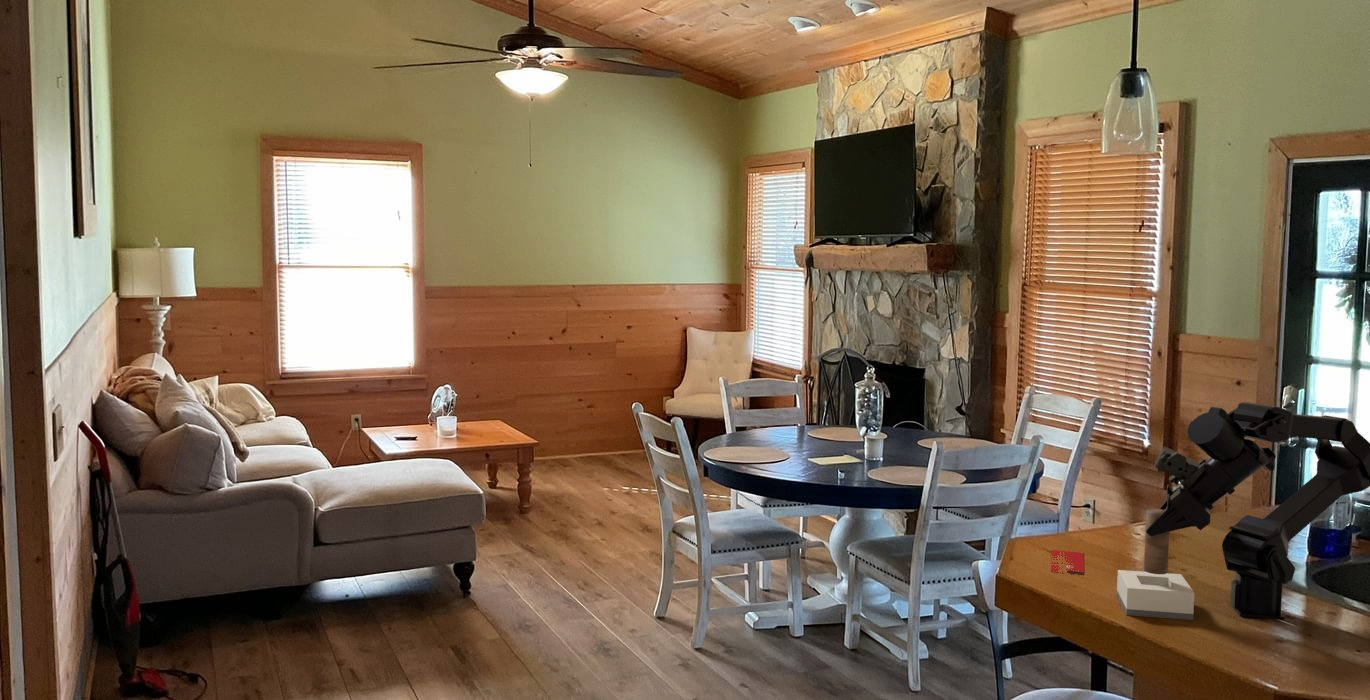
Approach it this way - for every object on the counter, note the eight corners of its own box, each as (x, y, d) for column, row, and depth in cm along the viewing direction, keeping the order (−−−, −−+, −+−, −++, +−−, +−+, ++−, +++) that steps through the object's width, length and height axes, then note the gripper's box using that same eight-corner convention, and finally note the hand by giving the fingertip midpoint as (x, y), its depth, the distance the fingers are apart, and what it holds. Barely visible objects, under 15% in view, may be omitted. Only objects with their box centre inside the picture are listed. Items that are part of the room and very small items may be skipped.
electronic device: (1051, 552, 211) (1050, 574, 197) (1052, 549, 211) (1050, 571, 197) (1083, 555, 209) (1084, 577, 195) (1083, 552, 209) (1084, 574, 195)
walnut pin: (1165, 568, 178) (1167, 509, 177) (1169, 574, 175) (1172, 514, 174) (1142, 567, 179) (1144, 508, 178) (1146, 573, 175) (1148, 513, 174)
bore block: (1179, 600, 181) (1181, 574, 181) (1193, 620, 171) (1194, 592, 171) (1116, 595, 183) (1117, 569, 183) (1126, 615, 174) (1127, 587, 173)
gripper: (1186, 423, 181) (1113, 482, 187) (1189, 442, 164) (1110, 506, 170) (1236, 473, 179) (1161, 531, 184) (1245, 497, 162) (1162, 560, 167)
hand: (1147, 530), depth 177 cm, fingers closed on walnut pin, 4 cm apart
